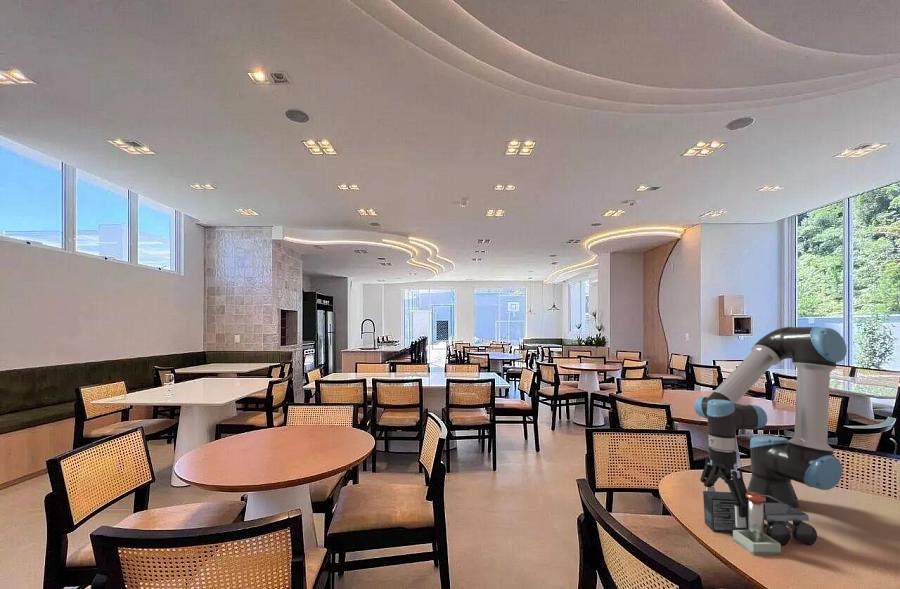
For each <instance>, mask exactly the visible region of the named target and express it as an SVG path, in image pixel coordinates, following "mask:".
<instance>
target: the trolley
mask: <svg viewBox="0 0 900 589" xmlns="http://www.w3.org/2000/svg"><path fill="white" fill-rule="evenodd" d="M764 496H765V497H766V502H765V503H763V529H765V534H766V535H768V536H769V537H771V538H772V539H774V540H776V541H777V542H779V543H780V544H781V547H785V546H786V545H788V544H789V543H790V542H791V539H792V538H793V539H794V540H795V541H797V542H798V543H800V544H802V545H803V546H806V547H807V546H808V547H809V546H813V545H814V544H815V543H816V541H817V540H818V532H817V530H816V528H815V527H814V526H812V525H811V524H809V523H807V522H808V521H809V520H810V518H809V514H807V513H805V512H803V511H801V510H799V509H798V508H796V509H795V508H793V507H791V506H790V505H788V504H785V503H783V502H781V501H779V500H777V499H775V498H773V497H771V496H769V495H764ZM747 516H748V507H747ZM805 521H806V522H805ZM765 522H766V523H765ZM791 522H792V523H791ZM789 528H790V529H791V531H790V529H789Z"/></svg>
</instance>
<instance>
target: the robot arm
mask: <svg viewBox="0 0 900 589" xmlns="http://www.w3.org/2000/svg"><path fill="white" fill-rule="evenodd" d="M750 350H751V352H750V353H749V354H748V355H747V356H746V357H745V358H744V359H743V360H742V361H741V362H740V364H739V365H738V366H737V367H736V368H734V370H732V372H731V373H730V374H729V375H728V376H726V377H725V379H724V380H723V381H722V382H721V383H720V384H719V386H717V387H716V389H714V391H712V393H711V394H709V396H708V397H707V396H700V397H698V398H696V400H695V401H694V407H693V408H694V412H695V413H696V414H697V416H699V417H700V418H701V417H702V418H704V419H706V420H707V434H708V457H705V464H704V467H703V471H702V473H701V476H700V478H699V480H700V482H701V483H703V486H704V488H705V489H704V491H714V492H716V487H715V484H716V482H717V481H718V479H721V480H723V481H724V483H725V484H727V486H728V489H729V490H730V492H731V493H732V495H733V497H734V499H735V501H736V503H737V504H735V524H736V527H737V528H746V507H748V499H747V498H746V494H745V493H746V492H748V491H751V492H757V493H760V494H762V495H769V496H771V497H773V498H775V499H777V500H779V501H781V502H783V503H785V504H788V505H790V506H791V507H793V508H795V509H798V508H799V499H798V497H797V493H796V490H795V489H794V487H793V485H792V481H795V482H797V483H800V484H803V485H806V486H808V488H809V487H810V488H815V489H818V490H821V491H828V490H831V489H833V488H835V487H836V485H837V486H838V484H839V483H840V481H841V479H842V476H843V471H844V470H843V468H844V467H843V464H842V463H841V460H839V459H838V458H837V457H836V456H834V449H833V448H832V447H831V446H830V445H829V442H828V434H829V433H828V432H829V408H830V406H829V405H830V404H829V403H830V378H831V376H830V375H831V372H832V371H834V370H835V369H837V364H838V363H840V362H842V361H844V359H845V357H846V356H847V344H846V341H845V339H844V337H843V336H842V335H841V334H840V333H839V332H838V331H837V330H836V329H833V328H830V327H824V326H823V327H820V326H799V327H797V326H794V327H793V326H787V327H786V326H784V327H780V328H777V329H774V330H773V331H771V332H768V333H767V334H766V335H764V336H763V337H761V338H760V339H759V340H758V341H757V342H755V343H754V345H753V346H751V348H750ZM786 359H791V364H793V365H794V367H795V368H796V369H797V370H796V390H795V391H796V392H795V411H794V414H795V415H794V416H795V417H794V434H793V437H792V438H790V439H788V438H786V437H780V436H772V435H770V436H769V435H758V436H757V435H756V436H753V437H751V438H750V441H749V442H750V443H749V444H750V445H749V455H750V469H751V477H750V480H749V483H748V487H746V484H745V481H744V477H743V472H742V470H735V467H734V465H735V464H737V462H738V460H737V458H738V457H737V452H736V450H737V437H736V430H738V431H739V430H756V429H761V428H764V427H765V426H766V425H767V424H768V415H767V412H766V411H765V410H764V409H763V407H761V406H759V405H756V404H740V403H738V402H739V401H740V400H741V398H742V397H744V395H746V394H747V393H748V391H749V390H750V389H752V387H753V386H754V385H755V384H756V383H757V382H758V381H759V380H760V379H761V377H762V376H763V375H764V374H765V373H766V372H767V371H768V370H769V369H770V368H771V367H772V366H777V365H778V364H780V362H781V361H784V360H786ZM739 500H740V501H739Z"/></svg>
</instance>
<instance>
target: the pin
mask: <svg viewBox="0 0 900 589" xmlns="http://www.w3.org/2000/svg"><path fill="white" fill-rule="evenodd" d="M745 494H746V498H747V499H748V539H749V540H751V541H752V542H754V543H762V542H764V534H765V533H764V527H763V503H765V502H766V497H765V496H764V495H762V494H760V493H757V492H751V491H748V492H746V493H745ZM763 533H764V534H763Z"/></svg>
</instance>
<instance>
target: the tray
mask: <svg viewBox="0 0 900 589" xmlns="http://www.w3.org/2000/svg"><path fill="white" fill-rule="evenodd" d="M763 534H764V542H762V543H754V542H752V541H751V540H749V539H748V530H733V533H732V540H733V542H735V543H736V544H738V546H741V547H742V548H743V549H745V551H748V553H750V554H751V555H753V556H780V555H781V556H782V546H781V544H780V543H779V542H777V541H776V540H774V539H772V538H771V537H769V536H768V535H766V533H765V532H763Z"/></svg>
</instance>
